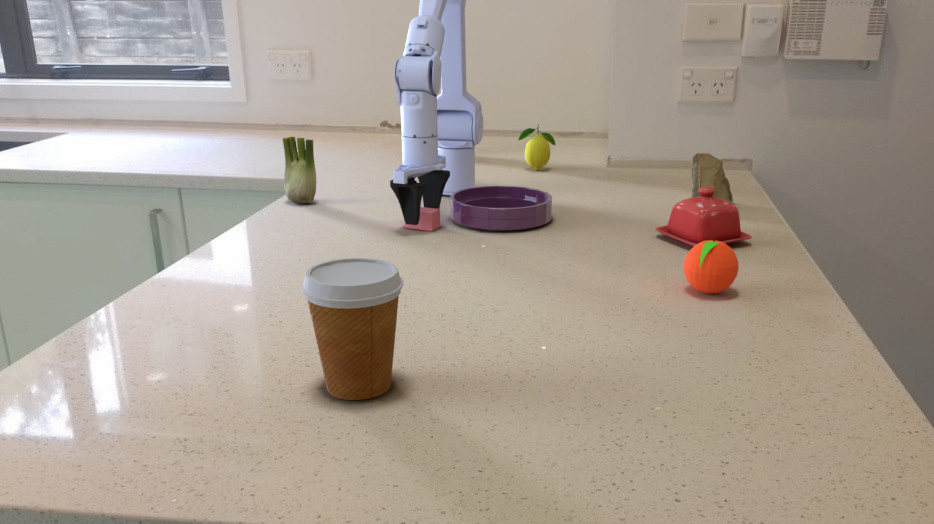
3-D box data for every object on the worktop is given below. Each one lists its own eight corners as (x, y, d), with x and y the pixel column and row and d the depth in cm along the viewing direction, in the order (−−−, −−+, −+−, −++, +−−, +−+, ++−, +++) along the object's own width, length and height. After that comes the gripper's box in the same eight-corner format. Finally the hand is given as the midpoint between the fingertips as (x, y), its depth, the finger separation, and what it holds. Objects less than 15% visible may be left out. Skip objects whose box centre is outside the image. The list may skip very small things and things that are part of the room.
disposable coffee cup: (316, 367, 87) (306, 257, 83) (408, 365, 88) (404, 255, 83) (303, 410, 78) (292, 288, 74) (406, 407, 79) (401, 286, 75)
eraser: (405, 227, 138) (404, 210, 137) (413, 223, 141) (413, 206, 140) (432, 231, 136) (431, 213, 135) (440, 226, 139) (440, 209, 138)
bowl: (433, 226, 139) (433, 202, 138) (475, 203, 154) (475, 182, 153) (530, 237, 133) (531, 213, 132) (564, 213, 148) (565, 191, 147)
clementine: (722, 307, 105) (729, 252, 102) (670, 297, 108) (675, 243, 105) (742, 289, 111) (748, 237, 108) (692, 280, 114) (697, 229, 112)
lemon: (517, 171, 181) (518, 124, 178) (526, 166, 186) (527, 121, 183) (546, 174, 179) (547, 126, 175) (555, 169, 184) (556, 123, 180)
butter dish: (697, 254, 125) (702, 198, 122) (650, 235, 135) (654, 183, 132) (755, 245, 130) (762, 191, 127) (706, 227, 140) (711, 176, 137)
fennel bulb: (321, 203, 153) (316, 136, 149) (299, 207, 150) (293, 140, 146) (303, 198, 157) (297, 133, 153) (280, 202, 154) (274, 136, 149)
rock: (723, 185, 159) (675, 180, 157) (745, 154, 152) (696, 148, 150) (737, 230, 154) (688, 226, 151) (761, 200, 147) (710, 195, 144)
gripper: (420, 144, 125) (423, 232, 131) (461, 130, 138) (462, 211, 143) (379, 140, 128) (383, 227, 133) (423, 127, 140) (425, 207, 145)
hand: (422, 219), depth 138 cm, fingers open, 6 cm apart
